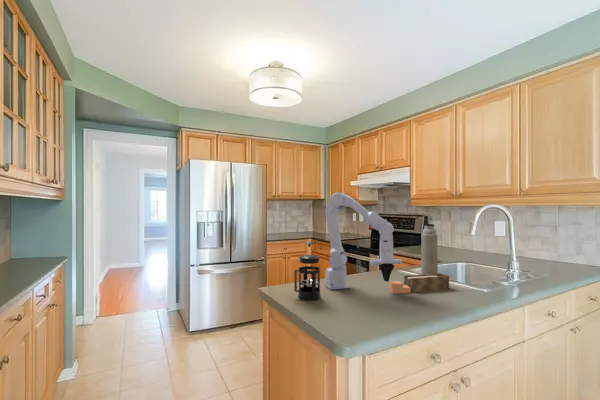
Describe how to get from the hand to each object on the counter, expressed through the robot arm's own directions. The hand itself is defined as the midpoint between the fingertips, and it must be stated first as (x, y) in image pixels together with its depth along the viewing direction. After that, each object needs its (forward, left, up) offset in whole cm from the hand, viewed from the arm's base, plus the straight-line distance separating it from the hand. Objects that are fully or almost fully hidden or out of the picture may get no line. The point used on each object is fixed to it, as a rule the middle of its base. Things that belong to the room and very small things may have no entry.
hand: (386, 280), depth 135 cm
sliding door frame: (+20, 0, -5) cm, 21 cm away
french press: (-35, +1, -5) cm, 36 cm away
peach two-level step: (+6, -1, -5) cm, 8 cm away
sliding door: (+19, 0, -5) cm, 19 cm away
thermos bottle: (+38, +21, -5) cm, 43 cm away
